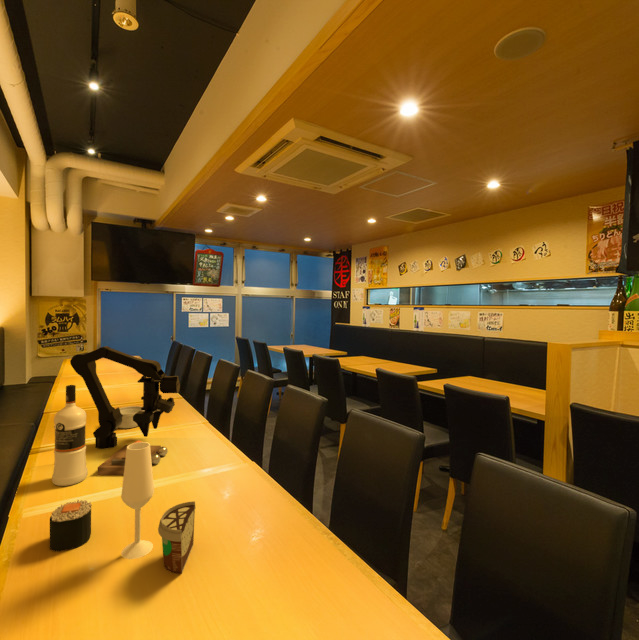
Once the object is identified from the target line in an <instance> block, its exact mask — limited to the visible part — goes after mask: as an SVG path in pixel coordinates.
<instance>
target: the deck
mask: <svg viewBox="0 0 639 640" xmlns="http://www.w3.org/2000/svg"><path fill="white" fill-rule="evenodd" d="M128 445H129V444H128ZM128 445H127V444H125V445H124V446H123V447H122V448H119V450H117V451H116V452H114V454H113V455H111V456H109V458H107V459H106V460H105V461H104V462H102V463H101V464H99V466H97V475H98V476H124V468H125V459H126V450H127V446H128ZM160 447H162V446H161V445H151V444H150V450H151V456H152V455H154V454H158V449H159V448H160Z"/></svg>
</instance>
